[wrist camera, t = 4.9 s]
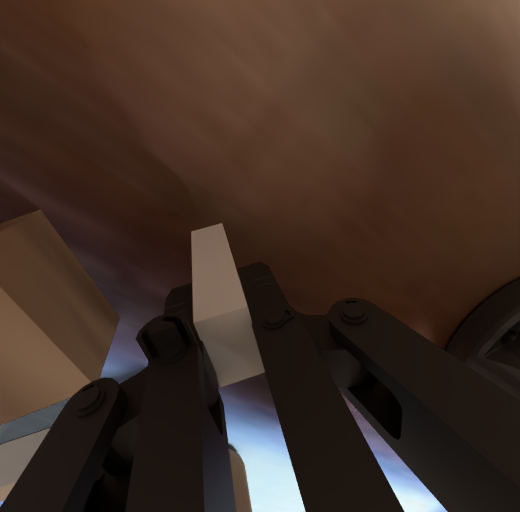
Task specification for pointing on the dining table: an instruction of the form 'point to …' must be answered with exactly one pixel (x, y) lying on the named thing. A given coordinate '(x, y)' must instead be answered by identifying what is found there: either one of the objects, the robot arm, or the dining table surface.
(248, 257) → the dining table surface
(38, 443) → the walled lane
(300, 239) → the dining table surface
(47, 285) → the walnut block
